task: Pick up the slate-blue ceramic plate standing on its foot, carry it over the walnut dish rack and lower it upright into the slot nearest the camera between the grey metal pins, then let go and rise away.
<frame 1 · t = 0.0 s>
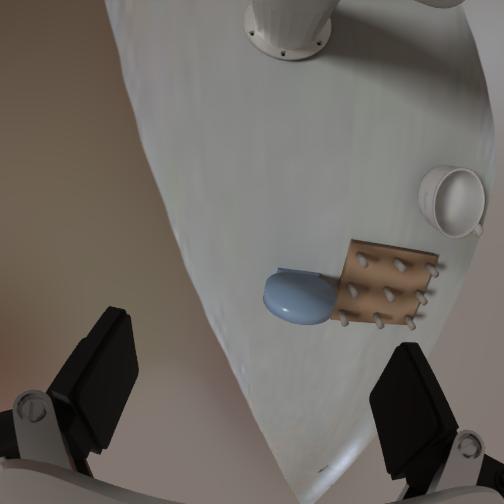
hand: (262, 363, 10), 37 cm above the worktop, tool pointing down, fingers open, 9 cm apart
teacup: (440, 198, 43), on the worktop
dish rack: (383, 284, 50), on the worktop
plate: (297, 276, 50), on the worktop
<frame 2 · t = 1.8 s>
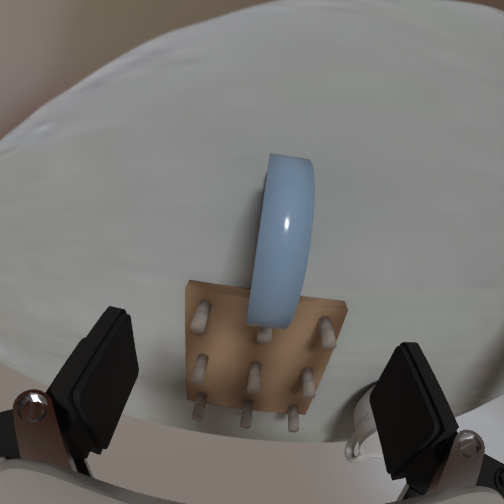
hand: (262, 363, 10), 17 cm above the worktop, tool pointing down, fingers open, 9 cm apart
teacup: (377, 396, 34), on the worktop
dish rack: (256, 355, 31), on the worktop
plate: (275, 214, 25), on the worktop
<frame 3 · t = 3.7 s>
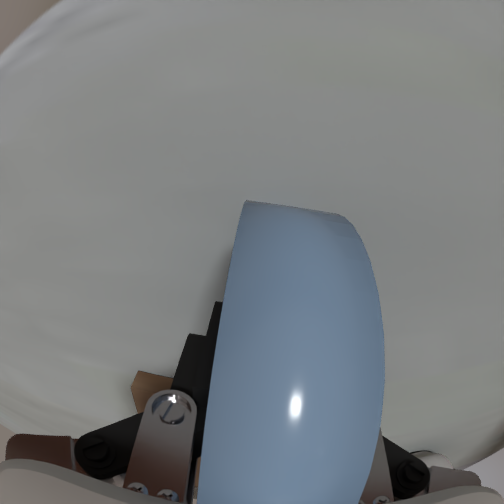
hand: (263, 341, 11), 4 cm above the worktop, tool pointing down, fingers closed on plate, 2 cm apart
teacup: (391, 468, 24), on the worktop
dish rack: (241, 449, 21), on the worktop
plate: (264, 289, 14), on the worktop, touching gripper
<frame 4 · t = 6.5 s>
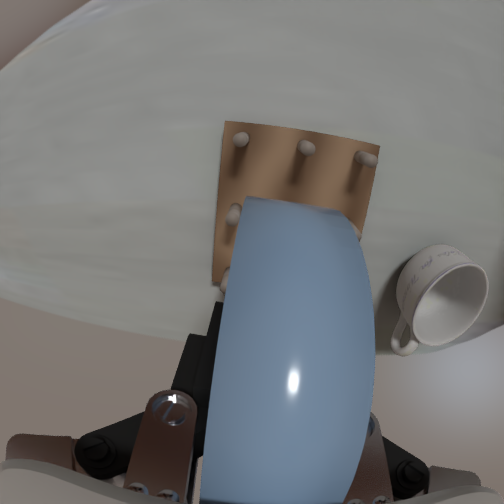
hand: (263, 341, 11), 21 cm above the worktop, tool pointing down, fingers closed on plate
teacup: (415, 281, 33), on the worktop
dish rack: (291, 211, 31), on the worktop
plate: (265, 283, 14), point 17 cm above the worktop, touching gripper
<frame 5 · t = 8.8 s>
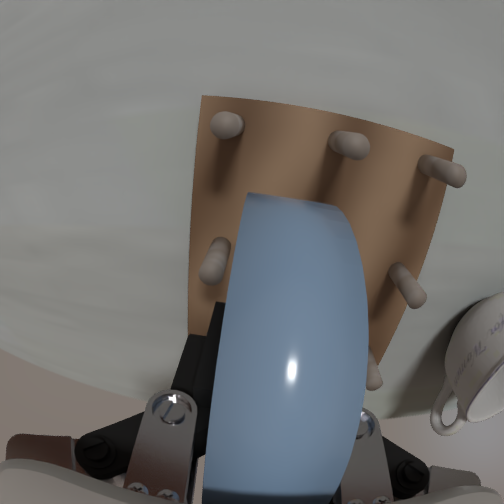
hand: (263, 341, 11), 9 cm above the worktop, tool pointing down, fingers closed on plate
teacup: (465, 335, 22), on the worktop
dish rack: (311, 248, 19), on the worktop
plate: (265, 279, 15), point 5 cm above the worktop, touching gripper
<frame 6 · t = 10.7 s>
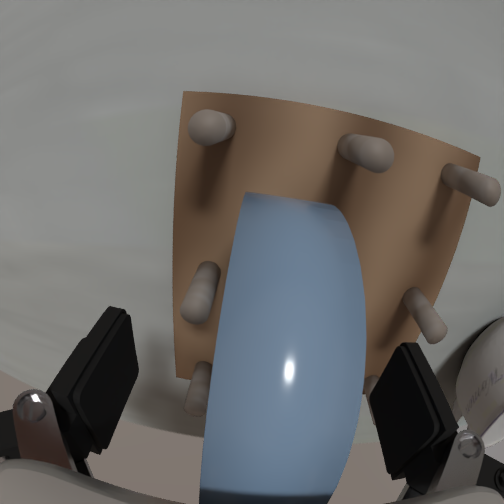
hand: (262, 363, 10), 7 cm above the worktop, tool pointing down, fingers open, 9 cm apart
teacup: (477, 355, 19), on the worktop
dish rack: (315, 272, 16), on the worktop
plate: (264, 279, 15), point 1 cm above the worktop, touching dish rack
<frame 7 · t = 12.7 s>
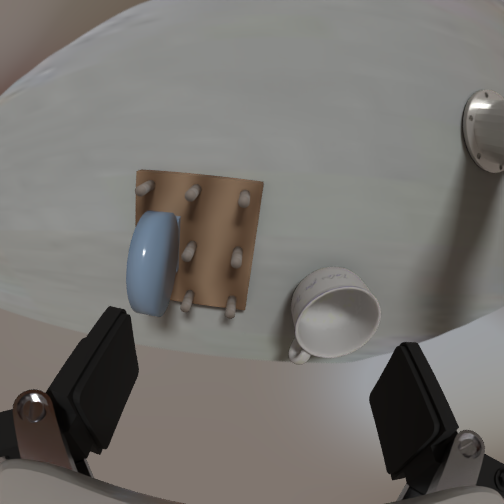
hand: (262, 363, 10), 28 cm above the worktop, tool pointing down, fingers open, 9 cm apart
teacup: (317, 298, 41), on the worktop
dish rack: (194, 240, 37), on the worktop
plate: (170, 242, 36), point 1 cm above the worktop, touching dish rack
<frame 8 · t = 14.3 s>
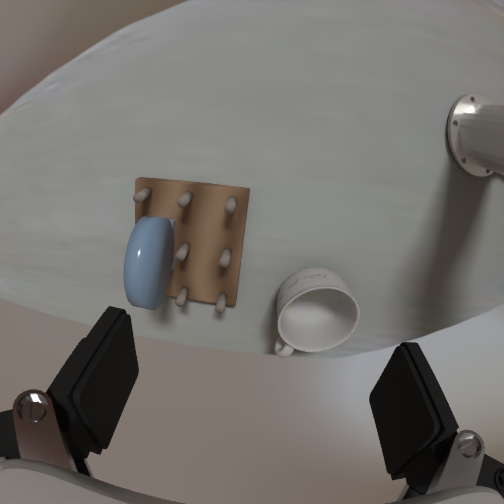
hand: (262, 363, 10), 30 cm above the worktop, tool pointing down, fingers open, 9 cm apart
teacup: (304, 296, 44), on the worktop
dish rack: (189, 241, 41), on the worktop
plate: (166, 243, 40), point 1 cm above the worktop, touching dish rack
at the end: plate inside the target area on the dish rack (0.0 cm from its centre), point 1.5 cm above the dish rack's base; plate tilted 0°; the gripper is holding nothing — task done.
